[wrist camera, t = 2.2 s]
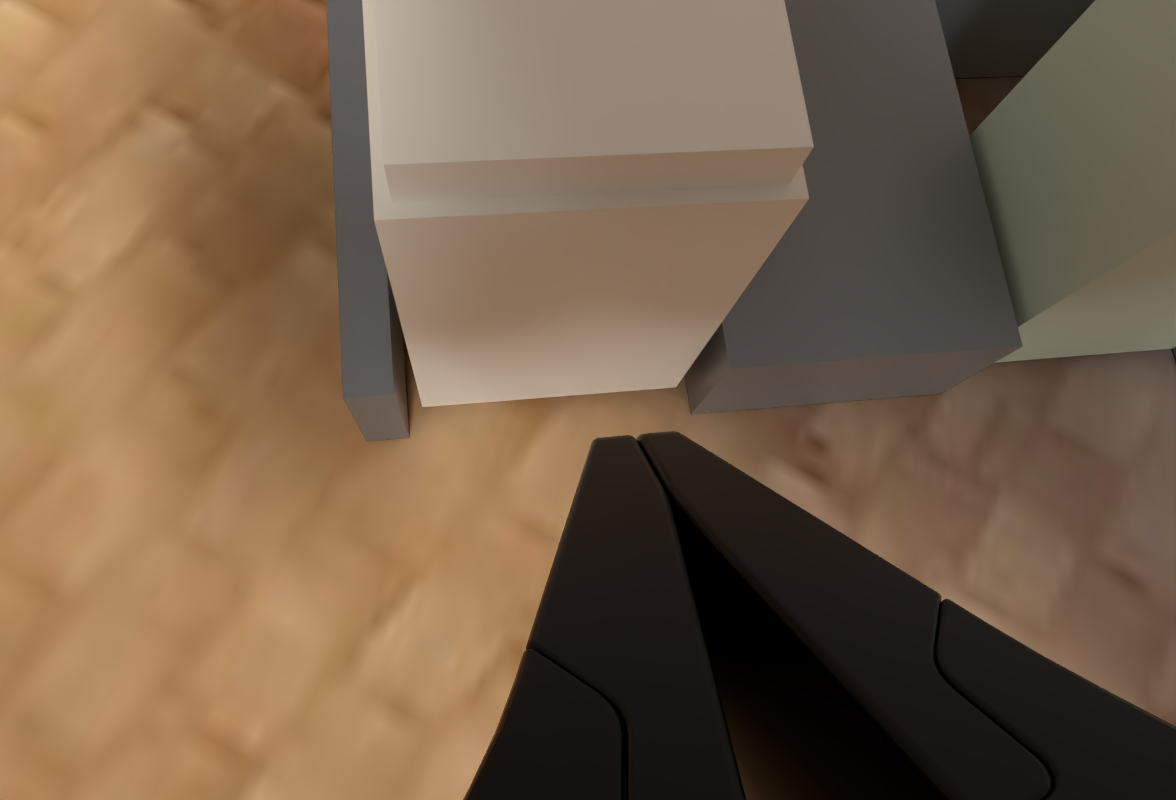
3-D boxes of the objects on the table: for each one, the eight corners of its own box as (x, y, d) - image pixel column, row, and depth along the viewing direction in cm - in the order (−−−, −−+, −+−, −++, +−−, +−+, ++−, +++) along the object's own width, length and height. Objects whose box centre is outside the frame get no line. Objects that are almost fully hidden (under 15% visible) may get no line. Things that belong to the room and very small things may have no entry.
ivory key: (676, 387, 18) (834, 162, 10) (422, 407, 17) (364, 183, 9) (649, 206, 19) (773, -134, 11) (409, 218, 18) (347, -134, 10)
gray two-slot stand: (1212, 371, 20) (1337, 322, 17) (367, 441, 17) (343, 398, 14) (1109, 37, 22) (1203, -56, 19) (348, 57, 19) (324, -47, 17)
